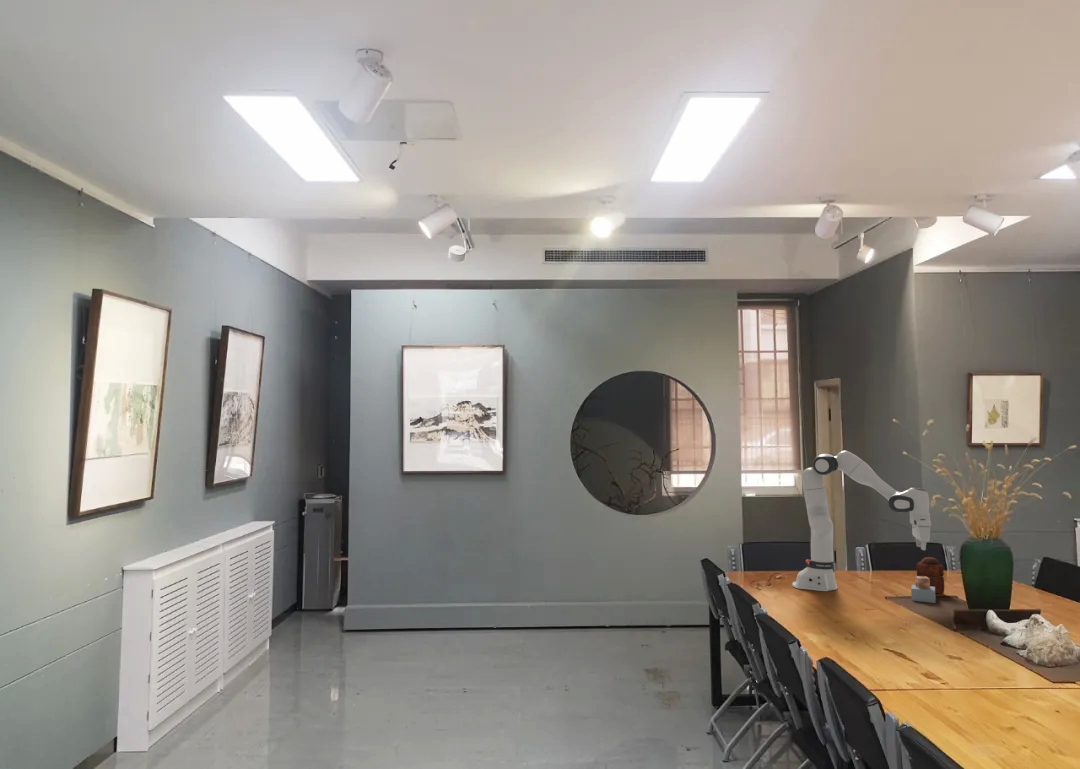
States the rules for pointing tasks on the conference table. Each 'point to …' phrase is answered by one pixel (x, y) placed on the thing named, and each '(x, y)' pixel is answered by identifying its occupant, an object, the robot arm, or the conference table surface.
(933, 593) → the slate base block
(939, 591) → the wooden figurine
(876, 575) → the conference table surface
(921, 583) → the terracotta cube
